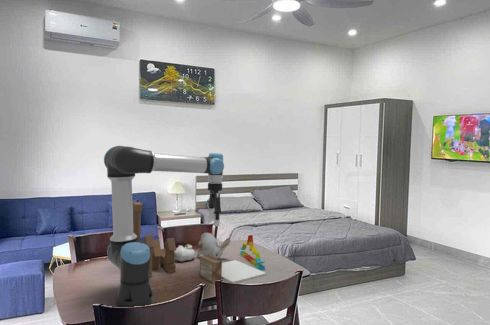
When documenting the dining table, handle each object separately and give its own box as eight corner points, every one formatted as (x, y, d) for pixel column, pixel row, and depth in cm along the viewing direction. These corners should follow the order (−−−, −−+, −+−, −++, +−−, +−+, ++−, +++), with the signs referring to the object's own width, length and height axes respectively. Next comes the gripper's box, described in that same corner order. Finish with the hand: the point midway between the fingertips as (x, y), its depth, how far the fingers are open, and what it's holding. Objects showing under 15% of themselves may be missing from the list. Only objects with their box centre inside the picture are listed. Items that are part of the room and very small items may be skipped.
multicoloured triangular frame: (265, 270, 198) (266, 242, 198) (260, 270, 197) (260, 243, 197) (244, 254, 227) (245, 230, 226) (239, 254, 225) (240, 230, 225)
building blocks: (140, 281, 176) (142, 208, 174) (129, 265, 197) (130, 201, 196) (179, 275, 185) (180, 206, 184) (164, 261, 207) (165, 199, 205)
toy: (194, 260, 212) (228, 262, 208) (194, 233, 211) (228, 235, 207) (199, 256, 220) (231, 257, 216) (199, 230, 220) (231, 232, 216)
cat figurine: (195, 242, 215) (172, 242, 205) (200, 251, 209) (178, 253, 200) (188, 253, 218) (166, 255, 208) (194, 263, 213) (171, 265, 203)
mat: (232, 283, 177) (232, 281, 177) (203, 268, 197) (203, 267, 197) (266, 274, 191) (266, 273, 191) (235, 261, 211) (235, 260, 211)
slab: (212, 283, 176) (213, 262, 176) (199, 276, 186) (199, 256, 185) (221, 281, 180) (222, 261, 179) (207, 273, 189) (208, 254, 188)
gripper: (227, 185, 179) (226, 228, 180) (217, 180, 203) (215, 218, 204) (212, 185, 177) (211, 228, 178) (203, 180, 201) (202, 218, 202)
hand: (213, 223), depth 191 cm, fingers open, 13 cm apart
